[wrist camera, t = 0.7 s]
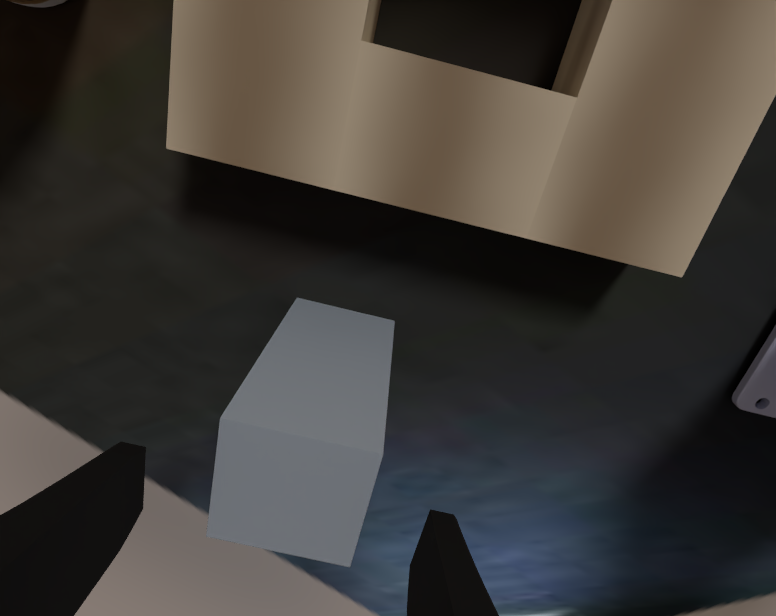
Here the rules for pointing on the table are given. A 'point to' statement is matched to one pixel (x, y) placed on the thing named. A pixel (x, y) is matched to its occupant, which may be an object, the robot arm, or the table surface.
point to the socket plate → (489, 117)
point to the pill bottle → (38, 2)
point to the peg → (305, 436)
